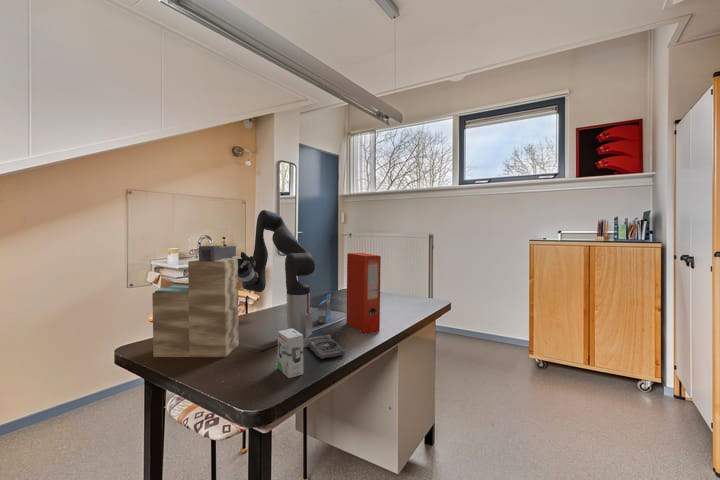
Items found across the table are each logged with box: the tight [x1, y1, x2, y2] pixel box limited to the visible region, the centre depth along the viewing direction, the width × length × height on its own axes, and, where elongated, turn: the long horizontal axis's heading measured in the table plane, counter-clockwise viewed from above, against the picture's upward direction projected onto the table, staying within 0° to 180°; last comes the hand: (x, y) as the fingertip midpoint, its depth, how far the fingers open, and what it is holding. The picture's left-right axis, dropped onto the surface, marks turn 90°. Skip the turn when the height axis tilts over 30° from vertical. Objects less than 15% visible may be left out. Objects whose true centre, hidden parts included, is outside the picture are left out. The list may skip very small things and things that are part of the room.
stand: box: [151, 257, 240, 358], centre depth 115 cm, size 12×24×32 cm, turn 90°
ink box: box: [277, 328, 304, 379], centre depth 99 cm, size 9×5×12 cm, turn 36°
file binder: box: [346, 252, 382, 335], centre depth 143 cm, size 8×17×32 cm, turn 25°
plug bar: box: [198, 245, 237, 261], centre depth 120 cm, size 22×5×5 cm, turn 0°
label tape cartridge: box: [317, 292, 332, 324], centre depth 154 cm, size 9×4×12 cm, turn 172°
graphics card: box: [303, 333, 346, 360], centre depth 115 cm, size 17×4×12 cm
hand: (230, 254), depth 130 cm, fingers open, 8 cm apart
